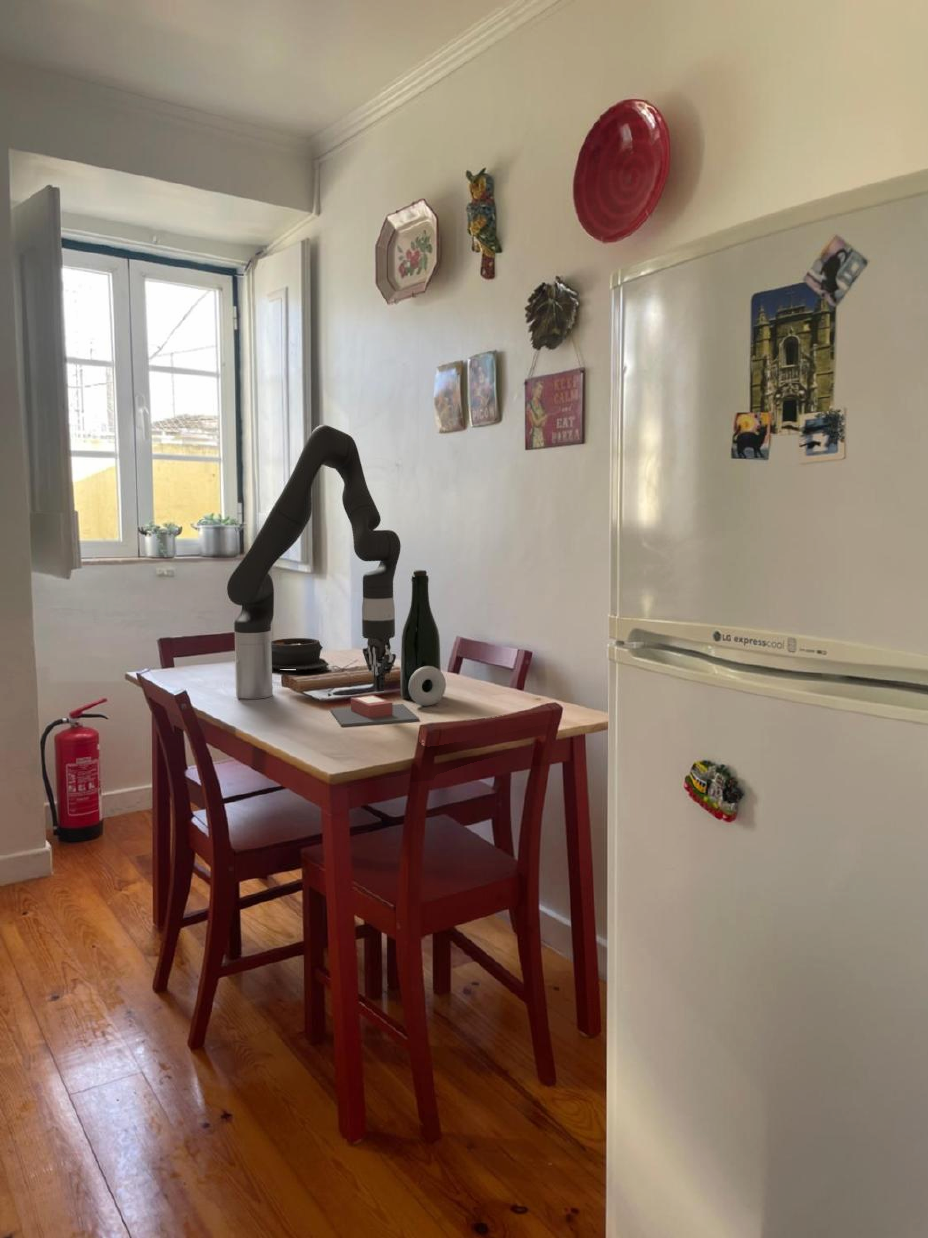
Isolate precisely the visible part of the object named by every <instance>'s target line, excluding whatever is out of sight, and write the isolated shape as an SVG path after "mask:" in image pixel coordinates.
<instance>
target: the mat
mask: <svg viewBox="0 0 928 1238" xmlns="http://www.w3.org/2000/svg"><path fill="white" fill-rule="evenodd" d="M330 713H331V715H332V716H333V717H334V719H335V720H336V721H337V722H338V725H340V727H341V728H343V727H344V728H345V727H355V726H356V727H357V726H369V725H370V726H371V725H383V724H385V725H386V724H396V723H397V724H399V723H407V722H408V721H412V722H419V721H420V718H419V717H418V716H417V715H416V714H415V713H414V712H413V711H411V710H410V709H409V708H408V706H406V705H404V704H403V703H400V704H393V715H390V716H383V717H376V718H367V717H365V716H363V715H361V714H358V713H356V712H354V711H351V707H339V708H330ZM408 723H409V722H408Z"/></svg>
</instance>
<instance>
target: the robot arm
mask: <svg viewBox="0 0 928 1238" xmlns="http://www.w3.org/2000/svg"><path fill="white" fill-rule="evenodd" d="M322 466H325V467H329V468H330V469H334V470H336V472H337V473H338V475H339V476H340V477H341V479H342V482H343V489H342V494H341V495H342V496H341V497H342V498H341V501H342V506H343V509H344V511H345V514H346V516H347V518H348V520H349V522H350V525H351V530H352V537H353V538H352V539H353V550H354V553H355V555H356V556H357V557H358V559H360V560H361V561H364V562H379V563H378V567H377V568H376V569H374V570H371V571H368V572H365V573H364V574H363V577H362V603H361V624H362V625H361V629H362V631H361V632H362V633H361V634H362V638H363V639H366V640H367V642H366V643H367V647H366V648H365V647H364V648H362V654H363V657H364V660H365V662H366V666H367V669H368V671H369V672H371V675H373V690H374V691H375V692H377V693H378V692H380V693H381V692H385V690H386V675H388V674H391V671H392V668H393V666H394V663H395V661H396V659H397V655H396V654H395V653H392V652H391V649H392V648H391V642H390V640H391V639H392V638H394V637H395V636H396V617H395V616H396V615H395V614H396V613H395V612H396V611H395V609H396V608H395V601H394V577H395V575H396V569H397V565H398V561H399V558H400V554H401V548H402V547H401V546H402V545H401V541H400V538H399V537H400V536H399V535H398V534H397V533H396V531H393V530H391V529H379V530H378V529H377V528H378V527H379V526H380V524H381V519H382V517H381V515H380V512H379V510H378V508H377V505H376V504H375V501H374V499H373V497H372V495H371V492H370V490H369V487H368V485H367V482H366V481H367V480H366V477H365V474H364V470H363V466H362V462H361V457H360V454H359V449H358V446H357V444H356V441H355V440H354V438H353V437H352V436H351V435H349V434H348V433H346V432H344V431H342V430H339V429H337V428H335V427H333V426H329V425H327V424H320V425H318V426H316V427H315V428H314V429H313V431H311V433H310V435H309V436H308V438H307V440H306V442H305V444H304V445H303V449H302V451H301V452H300V455H299V458H298V460H297V463H296V464H295V467H294V469H293V471H292V473H291V475H290V476H289V479H288V481H287V482H286V484H285V487H284V488H283V490H282V492H281V493H280V495H279V497H278V498H277V499H276V502H275V503H274V505H273V507H272V508H271V510H270V512H269V513H268V515H267V518H266V519H265V521H264V523H263V525H262V527H261V529H260V530H259V532H258V533H257V535H256V537H255V539H254V541H253V543H252V544H251V547H250V548H249V550H248V552H247V553H246V554H245V555H244V557H243V558H242V560H241V561H240V563H239V564H238V565H237V567H236V568H235V569H234V571H233V572H232V574H231V575H230V577H229V579H228V582H227V587H226V591H227V596H228V598H229V600H230V601H231V602H232V603H233V604H234V605H237V606H241V611H240V613H239V616H238V617H237V618H236V619H235V621H234V623H233V627H234V631H233V632H234V654H235V655H234V656H235V658H234V670H235V671H234V673H235V675H234V676H235V696H236V699H237V698H245V699H244V700H257V699H265V698H269V697H272V696H273V694H274V692H273V691H274V690H273V685H274V684H273V667H272V650H271V641H272V630H271V629H272V622H273V618H274V614H275V613H274V611H275V609H274V608H275V605H274V604H275V596H274V595H275V592H274V591H275V589H274V582H273V578H272V576H271V575H270V574H269V572H270V570H271V569H272V567H273V566H274V564H275V563H276V562H277V561H278V560H279V559H280V558H281V557H282V556H283V555H285V554H286V552H287V551H289V549H290V548H291V547H292V546H293V545H294V544H295V543H296V542H297V540H298V539H299V538H300V537H301V535H302V533H303V531H304V530H305V529H306V526H307V524H309V521H310V519H311V517H312V512H313V506H312V505H313V497H312V495H313V494H312V493H313V490H312V488H313V483H314V480H315V478H316V476H317V474H318V472H319V470H320V469H321V467H322ZM376 529H377V530H376Z"/></svg>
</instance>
